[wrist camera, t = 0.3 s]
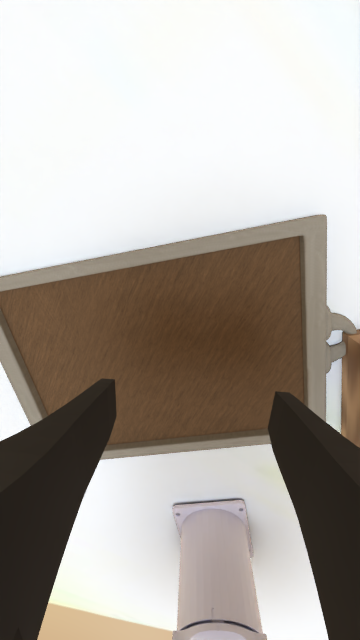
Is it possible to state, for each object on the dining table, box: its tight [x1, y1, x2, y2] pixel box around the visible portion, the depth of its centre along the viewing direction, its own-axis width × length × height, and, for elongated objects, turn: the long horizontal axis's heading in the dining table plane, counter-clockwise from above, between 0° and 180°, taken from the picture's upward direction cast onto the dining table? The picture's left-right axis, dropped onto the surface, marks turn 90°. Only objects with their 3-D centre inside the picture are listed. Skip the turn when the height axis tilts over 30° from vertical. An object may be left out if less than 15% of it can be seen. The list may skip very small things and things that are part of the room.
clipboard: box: [0, 215, 357, 460], centre depth 22 cm, size 19×2×30 cm
